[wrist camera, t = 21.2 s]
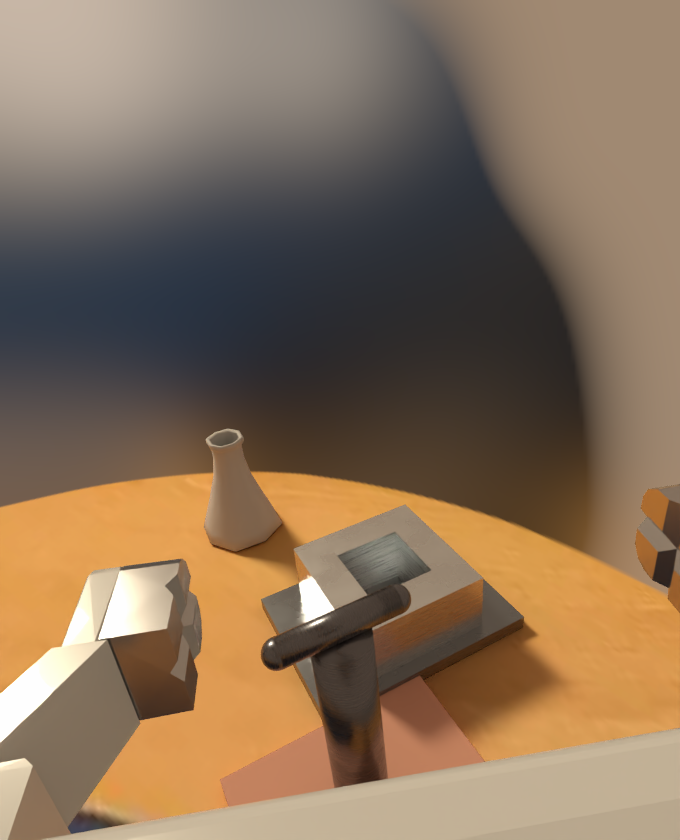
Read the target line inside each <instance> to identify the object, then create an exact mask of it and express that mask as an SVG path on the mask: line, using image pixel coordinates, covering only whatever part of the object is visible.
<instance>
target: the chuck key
mask: <svg viewBox="0 0 680 840" xmlns="http://www.w3.org/2000/svg"><path fill="white" fill-rule="evenodd" d="M410 605H411V595H410V592H409V591H408V589H407V588H406V587H404V586H403V585H400V584H391V585H389V586H387V587H384V588H382V589H380V590H377V591H375V592H373V593H371V594H368V595H366V596H364V597H362V598H359V599H357V600H355V601H353V602H350V603H348V604H346V605H344V606H341V607H339V608H337V609H335V610H332V611H330V612H328V613H326V614H323V615H321V616H319V617H317V618H314V619H312V620H310V621H308V622H305V623H303V624H301V625H299V626H296V627H294V628H292V629H290V630H287V631H285V632H283V633H281V634H278V635H276V636H274V637H272V638H270V639H268V640H267V641H266V642H265V643H264V645H263V647H262V649H261V659H262V662H263V664H264V665H265V666H266V667H267V668H268V669H270V670H273V671H280V670H283V669H285V668H287V667H289V666H291V665H294V664H296V663H298V662H300V661H302V660H304V659H306V658H309V657H311V662H312V667H313V673H314V678H315V684H316V689H317V695H318V700H319V706H320V711H321V717H322V722H323V728H324V733H325V739H326V744H327V750H328V755H329V761H330V766H331V772H332V777H333V783H334V788H338V787H344V786H350V785H355V784H361V783H367V782H372V781H378V780H384V779H388V773H387V763H386V753H385V744H384V734H383V724H382V714H381V705H380V695H379V685H378V676H377V666H376V656H375V647H374V637H373V630H372V628H373V627H375V626H377V625H379V624H381V623H384V622H386V621H388V620H390V619H392V618H394V617H396V616H399V615H401V614H403V613H404V612H406V611H407V610H408V608H409V607H410Z"/></svg>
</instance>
